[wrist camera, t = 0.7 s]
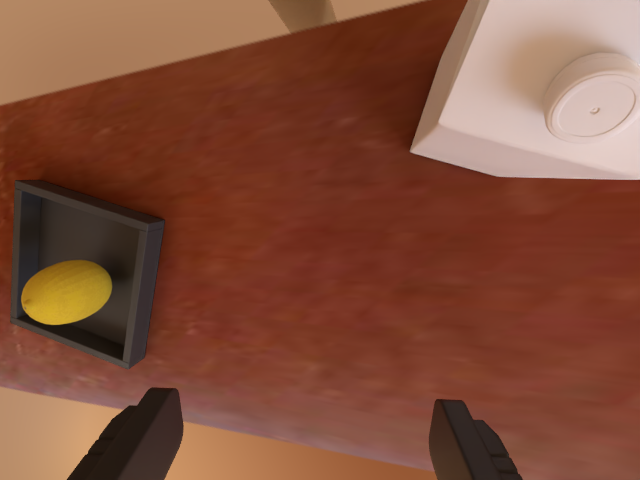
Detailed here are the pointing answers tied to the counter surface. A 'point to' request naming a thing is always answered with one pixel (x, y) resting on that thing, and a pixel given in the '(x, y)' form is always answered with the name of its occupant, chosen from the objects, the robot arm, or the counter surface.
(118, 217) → the dark grey tray
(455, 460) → the robot arm
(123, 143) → the counter surface
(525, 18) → the milk carton
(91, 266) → the lemon
